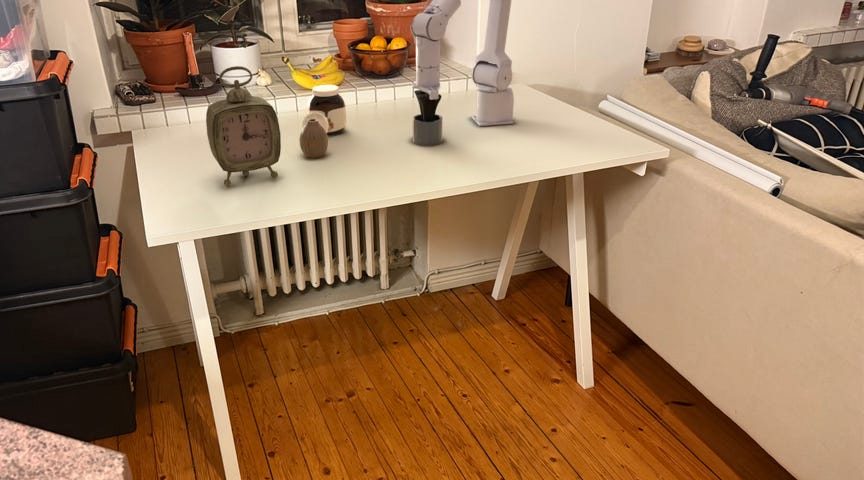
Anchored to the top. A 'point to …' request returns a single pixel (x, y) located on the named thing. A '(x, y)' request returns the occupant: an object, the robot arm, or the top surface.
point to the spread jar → (327, 109)
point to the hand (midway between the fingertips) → (427, 120)
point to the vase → (313, 139)
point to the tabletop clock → (243, 131)
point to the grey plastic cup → (427, 130)
